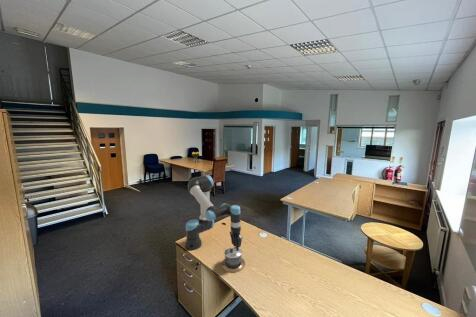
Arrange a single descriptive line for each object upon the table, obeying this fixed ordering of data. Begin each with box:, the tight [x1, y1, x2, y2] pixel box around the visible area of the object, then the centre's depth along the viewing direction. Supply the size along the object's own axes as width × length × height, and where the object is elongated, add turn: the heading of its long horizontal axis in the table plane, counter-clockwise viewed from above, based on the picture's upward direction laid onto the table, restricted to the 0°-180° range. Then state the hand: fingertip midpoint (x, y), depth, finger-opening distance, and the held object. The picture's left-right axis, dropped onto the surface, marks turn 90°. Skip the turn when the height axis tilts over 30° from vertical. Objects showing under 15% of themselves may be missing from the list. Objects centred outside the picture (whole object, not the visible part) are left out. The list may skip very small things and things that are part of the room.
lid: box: [224, 247, 243, 259], centre depth 166 cm, size 14×14×2 cm
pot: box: [220, 255, 246, 274], centre depth 167 cm, size 19×19×9 cm
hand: (236, 253), depth 163 cm, fingers closed
